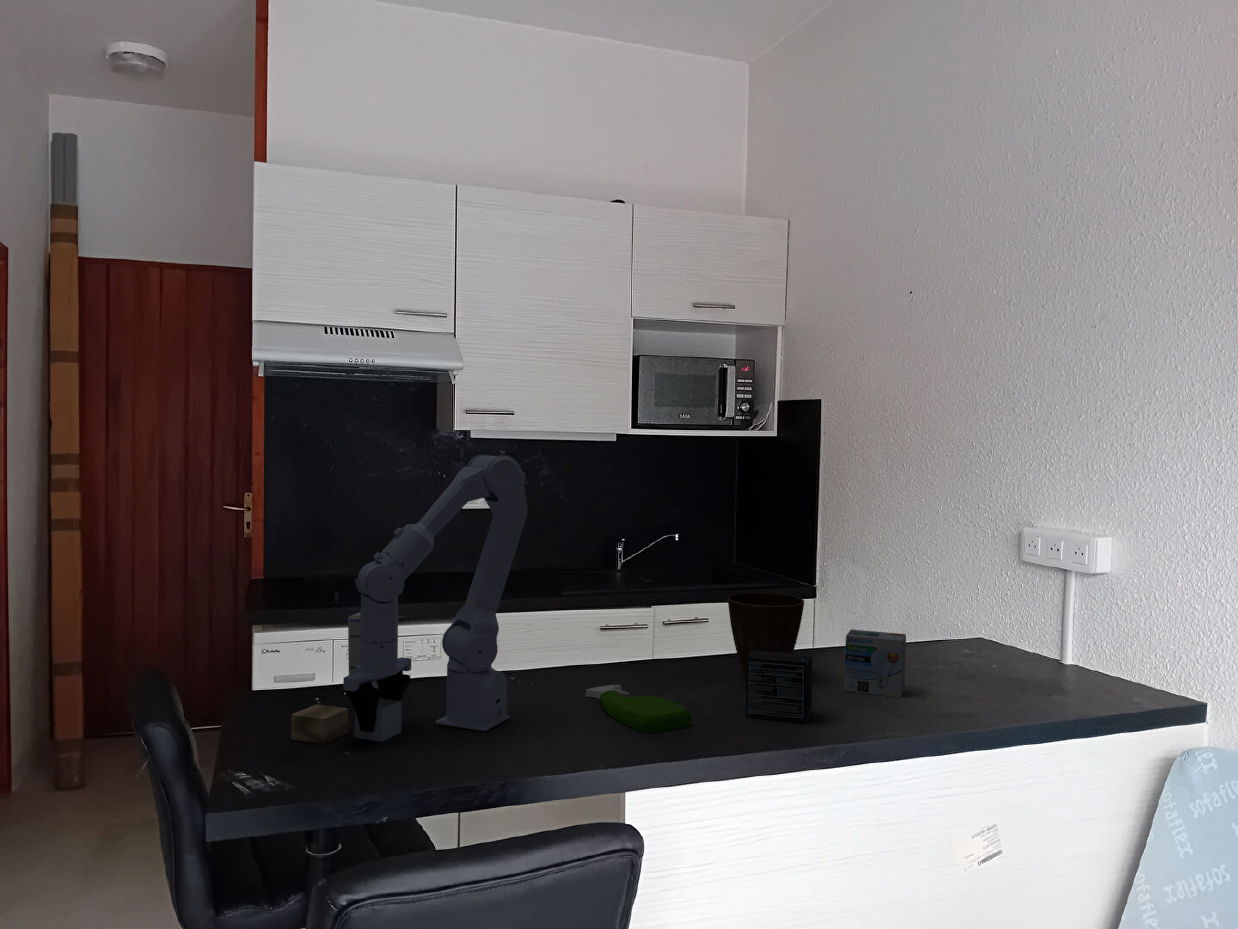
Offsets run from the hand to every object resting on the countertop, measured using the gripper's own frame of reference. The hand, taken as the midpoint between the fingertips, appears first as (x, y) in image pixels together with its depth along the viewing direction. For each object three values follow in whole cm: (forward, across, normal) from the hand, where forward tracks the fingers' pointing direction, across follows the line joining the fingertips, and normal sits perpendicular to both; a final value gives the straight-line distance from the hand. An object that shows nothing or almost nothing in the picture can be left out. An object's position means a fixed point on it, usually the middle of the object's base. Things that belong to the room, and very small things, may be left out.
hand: (378, 726), depth 144 cm
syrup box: (+2, -20, -17) cm, 26 cm away
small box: (+2, -37, +55) cm, 66 cm away
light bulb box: (+2, -61, +68) cm, 91 cm away
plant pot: (+2, -60, +47) cm, 76 cm away
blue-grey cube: (+1, 0, 0) cm, 1 cm away
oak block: (+2, +4, -8) cm, 9 cm away
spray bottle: (+2, -29, +31) cm, 43 cm away
